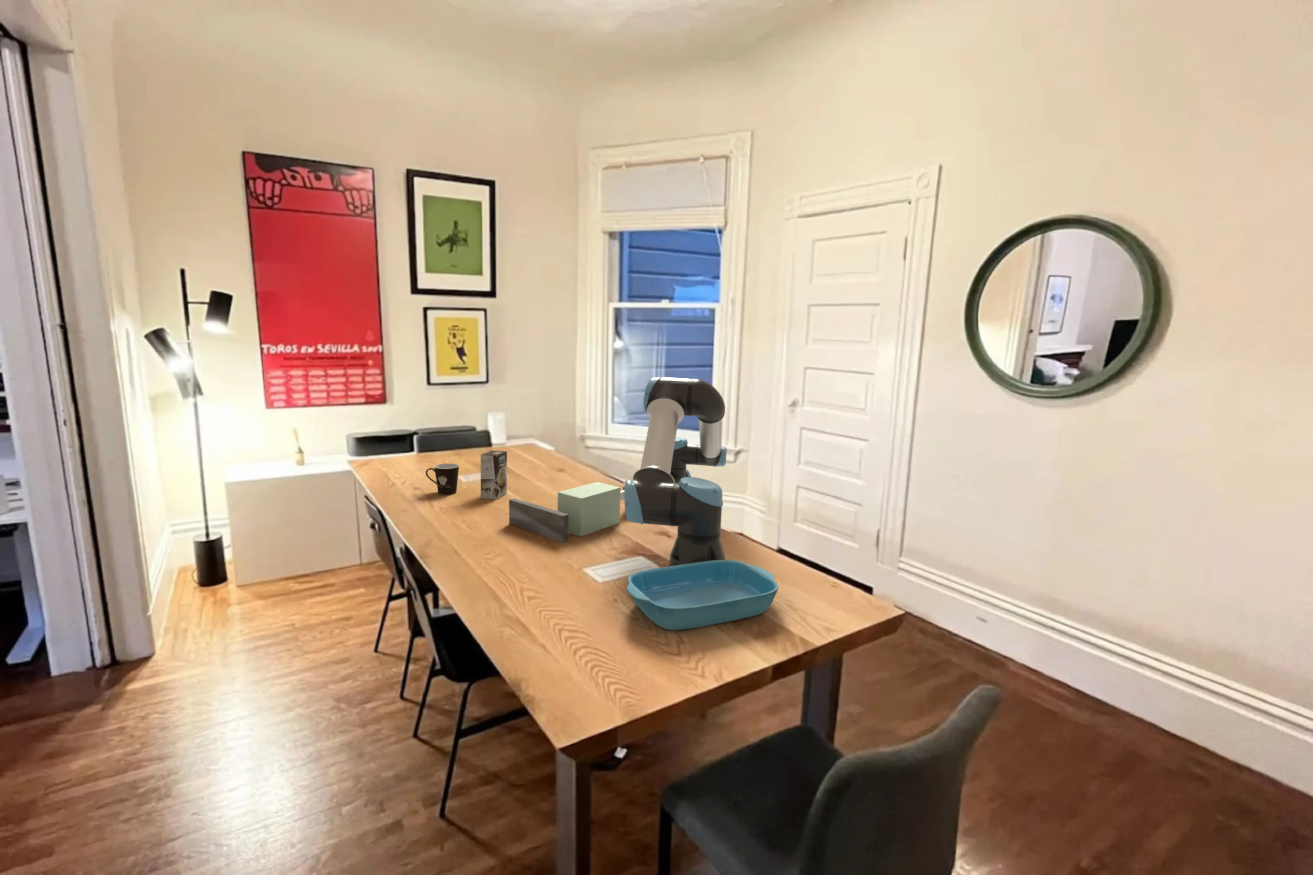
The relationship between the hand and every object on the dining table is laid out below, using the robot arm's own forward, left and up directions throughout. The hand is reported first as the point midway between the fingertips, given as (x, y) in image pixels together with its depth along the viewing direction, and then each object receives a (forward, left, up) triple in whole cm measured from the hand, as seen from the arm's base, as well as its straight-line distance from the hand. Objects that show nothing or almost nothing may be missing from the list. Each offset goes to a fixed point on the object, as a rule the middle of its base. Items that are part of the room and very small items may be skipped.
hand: (616, 496), depth 211 cm
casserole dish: (-56, -43, -7) cm, 71 cm away
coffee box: (+5, +49, -7) cm, 50 cm away
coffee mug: (+2, +68, -7) cm, 69 cm away
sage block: (-12, +4, -7) cm, 15 cm away
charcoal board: (-24, +16, -7) cm, 30 cm away
